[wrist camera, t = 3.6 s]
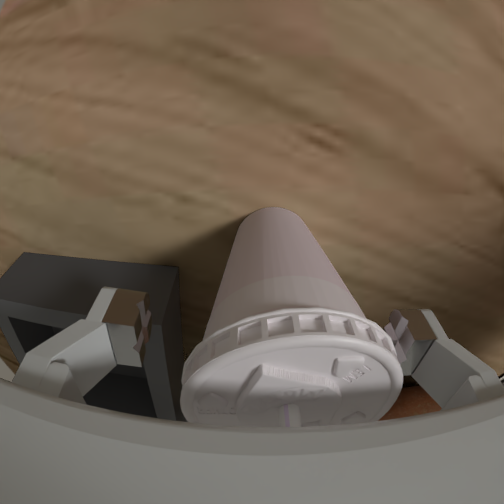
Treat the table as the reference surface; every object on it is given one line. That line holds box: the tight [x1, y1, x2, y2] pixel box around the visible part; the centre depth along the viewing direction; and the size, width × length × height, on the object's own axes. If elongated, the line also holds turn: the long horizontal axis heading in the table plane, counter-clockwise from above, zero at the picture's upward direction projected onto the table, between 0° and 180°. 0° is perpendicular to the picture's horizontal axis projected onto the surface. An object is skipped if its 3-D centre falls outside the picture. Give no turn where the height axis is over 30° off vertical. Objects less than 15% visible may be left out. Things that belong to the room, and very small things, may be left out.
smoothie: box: [180, 207, 403, 427], centre depth 10 cm, size 6×6×14 cm
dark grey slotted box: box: [0, 252, 188, 422], centre depth 18 cm, size 20×16×10 cm
